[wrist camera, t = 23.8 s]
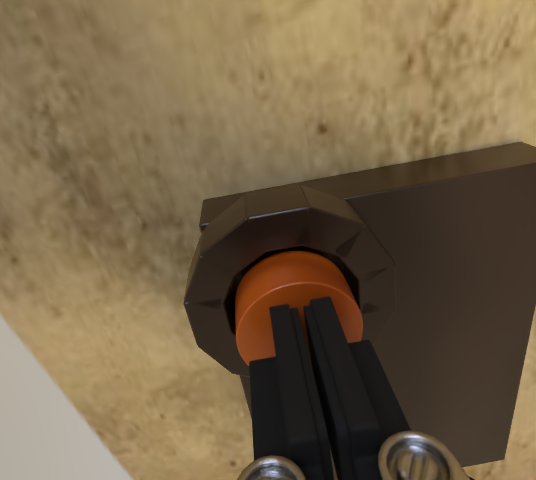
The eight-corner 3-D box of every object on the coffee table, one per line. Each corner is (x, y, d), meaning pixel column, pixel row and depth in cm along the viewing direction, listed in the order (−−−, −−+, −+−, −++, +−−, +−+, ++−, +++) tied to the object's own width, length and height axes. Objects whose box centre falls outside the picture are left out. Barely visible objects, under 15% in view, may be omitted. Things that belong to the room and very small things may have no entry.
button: (246, 351, 13) (248, 392, 12) (224, 261, 12) (223, 296, 10) (350, 332, 13) (366, 370, 12) (343, 240, 12) (360, 271, 10)
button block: (256, 463, 22) (262, 545, 19) (177, 183, 14) (160, 233, 11) (480, 422, 22) (528, 496, 19) (524, 120, 14) (622, 148, 11)
